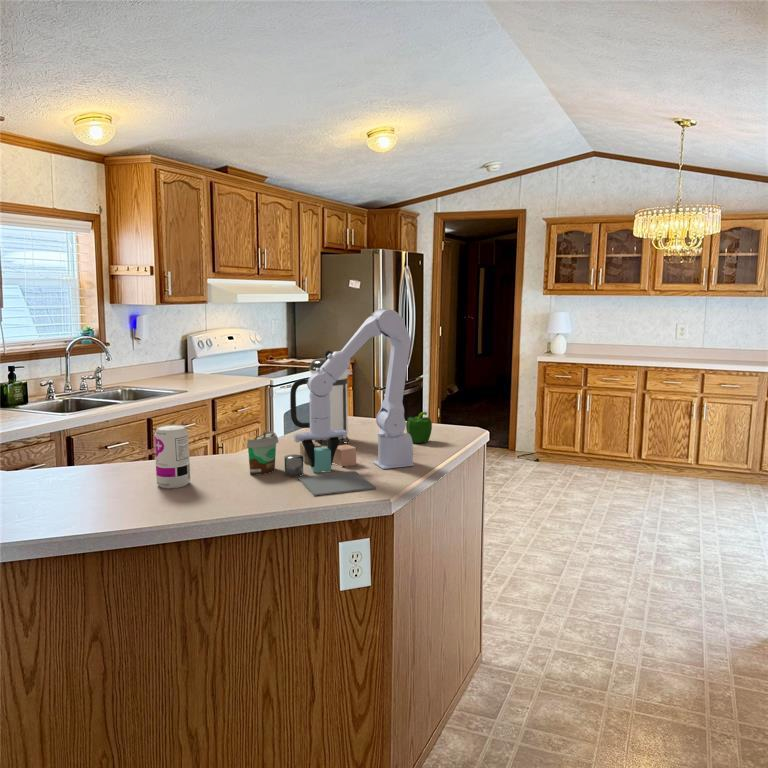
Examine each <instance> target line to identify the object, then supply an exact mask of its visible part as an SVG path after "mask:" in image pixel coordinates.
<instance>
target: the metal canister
mask: <svg viewBox="0 0 768 768" xmlns="http://www.w3.org/2000/svg"><path fill="white" fill-rule="evenodd" d="M302 474H303V475H304V463H303V456H302V455H300V454H296V453H295V454H287V455H285V456H284V476H285V475H286V476H285V477H287V476H292V477H291V478H294V477H293V476H300V475H302ZM300 477H301V476H300Z"/></svg>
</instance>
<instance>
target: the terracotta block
mask: <svg viewBox="0 0 768 768" xmlns="http://www.w3.org/2000/svg"><path fill="white" fill-rule="evenodd" d="M332 463H335V464H337V465H340V466H346V467H348V466H347V465H351V466H355V465H354V464H356V465H357V447H355V446H352V445H349V444H348V443H347V444H342V445H340V444H339V445H338V447H337V449H336V452H335V454H334V458H333V462H332ZM335 464H334V465H335ZM337 465H336V466H337ZM340 466H339V467H340Z"/></svg>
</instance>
